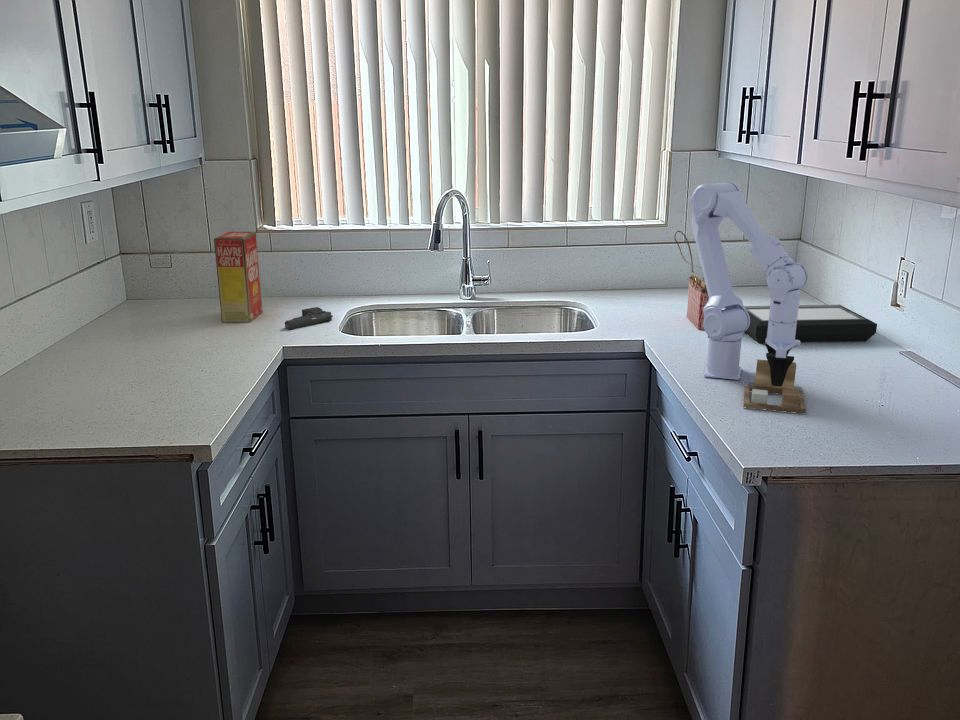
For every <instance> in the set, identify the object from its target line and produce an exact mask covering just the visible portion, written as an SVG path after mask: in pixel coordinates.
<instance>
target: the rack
mask: <svg viewBox="0 0 960 720" xmlns="http://www.w3.org/2000/svg"><path fill="white" fill-rule="evenodd" d="M743 388H744V389H743V408H744V407H746V408H755V409H754V410H756V409H766V410H776V411H786V412H796V413H806V414H807V408H806V402H805V396H804V392H803V390H802V391H801V390H795V391H798V392H799V399H798V402H799V403H798V407H789V406H781V405H777V404H768V403H767V404H758V403H751V402H750V392H749V391H752V389H758V390H767V391H768V394H769V393H778V394H777V395H780V394H783V389H778V388H767V387H756V386H749V385H744V387H743ZM784 390H790V389H784ZM766 410H765V411H766ZM776 411H775V412H776ZM786 412H785V413H786ZM796 413H795V414H796Z"/></svg>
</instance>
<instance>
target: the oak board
mask: <svg viewBox="0 0 960 720" xmlns="http://www.w3.org/2000/svg"><path fill="white" fill-rule="evenodd" d="M796 371H797V363H796V362H794V361H793V362H792V363H791V365H790V366H789V368H788V370H787V373H786V376H785V379H784V382H783V385H782V386H772V384H771V374H770V366H769V363H768V360H767V359H756V370H755V379H754V383H755V386H756V387H767V388H778V389H790V390H794V386H795V383H796V382H795V380H796Z"/></svg>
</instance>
